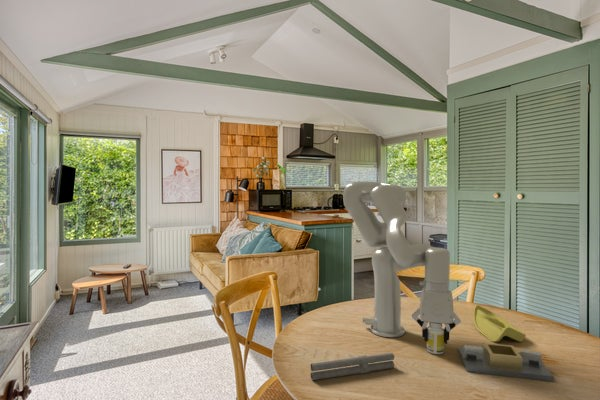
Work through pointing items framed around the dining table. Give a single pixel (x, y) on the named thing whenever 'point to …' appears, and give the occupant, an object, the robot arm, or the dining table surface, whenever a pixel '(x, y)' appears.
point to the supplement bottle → (435, 338)
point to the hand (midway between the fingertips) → (435, 340)
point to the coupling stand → (504, 361)
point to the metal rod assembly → (361, 368)
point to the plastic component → (494, 325)
